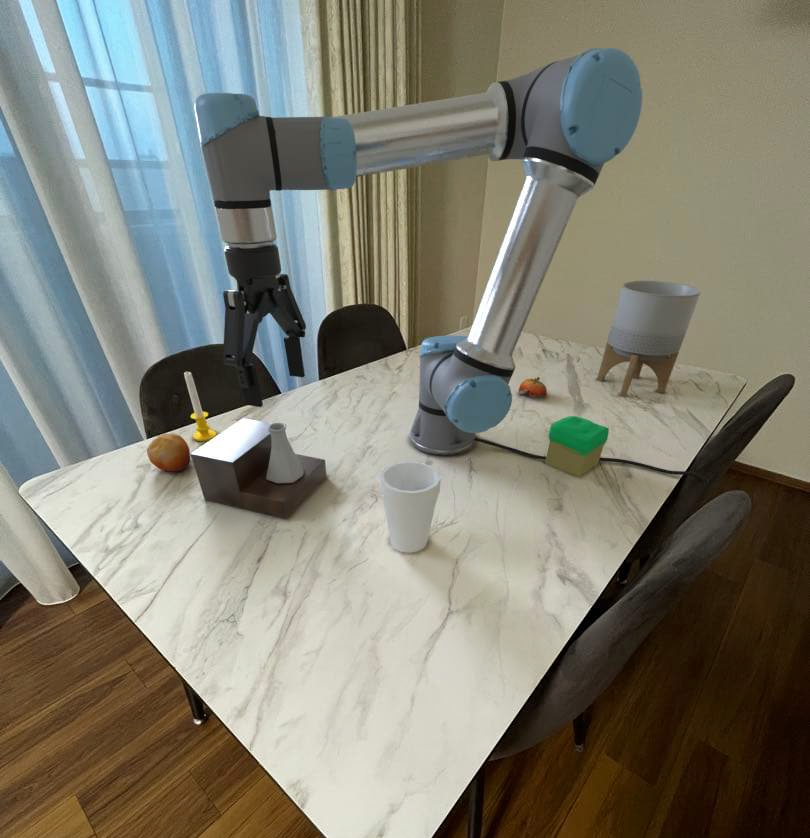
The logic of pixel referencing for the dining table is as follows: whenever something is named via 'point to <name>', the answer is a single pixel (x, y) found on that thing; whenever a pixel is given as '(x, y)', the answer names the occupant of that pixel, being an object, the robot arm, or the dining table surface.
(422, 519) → the foam cup
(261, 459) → the spice riser
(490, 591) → the dining table surface
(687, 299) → the planter
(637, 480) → the dining table surface
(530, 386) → the tomato
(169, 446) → the fruit
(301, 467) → the flask
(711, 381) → the dining table surface
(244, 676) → the dining table surface
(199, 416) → the candle
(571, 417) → the cake
